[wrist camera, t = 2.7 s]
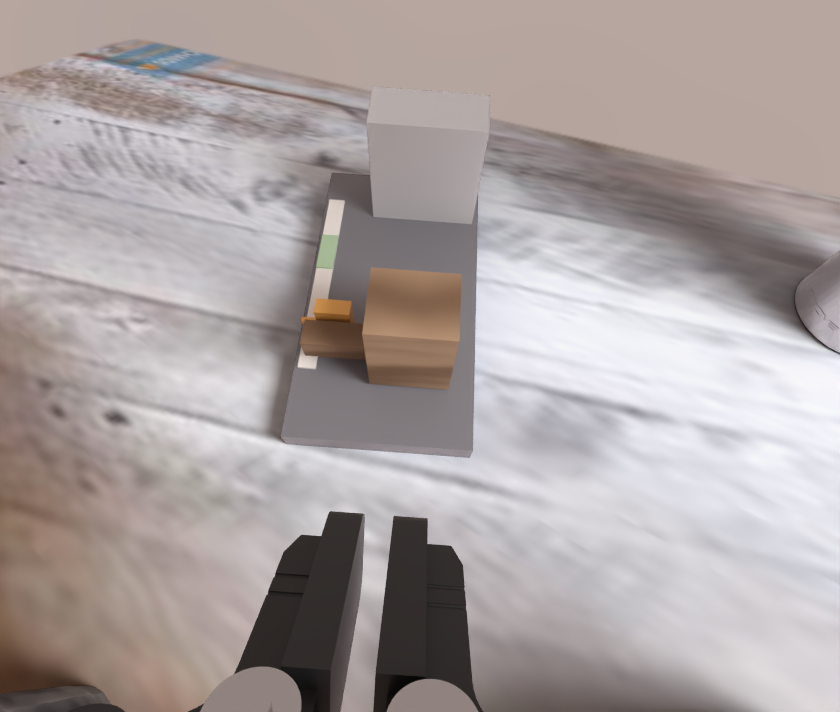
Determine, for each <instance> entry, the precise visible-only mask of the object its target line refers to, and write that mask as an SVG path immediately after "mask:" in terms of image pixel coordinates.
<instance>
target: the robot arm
mask: <svg viewBox="0 0 840 712" xmlns="http://www.w3.org/2000/svg"><path fill="white" fill-rule="evenodd" d="M795 304H796V308H797V312H798V314H799V316H800V318H801V320H802V322H803V323H804V325H805V326H806V327H807V329H808V330H809V331H810V332H811V333H812V334H813V335H814V336H815V337H816V338H817V339H818V340H820V341H821V342H822V343H824V344H825V345H826V346H828V347H830V348H831V349H833V350H835V351H837V352H839V353H840V251H838V252H837V253H836V254H834V255H833V256H832V257H831V258H829V259H828V260H827V261H826V262H824V263H823V264H822V265H821V266H819V267H818V268H817V269H815V270H814V271H813V272H812V273H810V274H809V275H808V276H807V277H805V278H804V279H803V280H802V281H801V282H800V284H799V285H798V286H797V290H796V293H795ZM364 522H365V517H364V514H359V513H345V512H332V511H330V512H329V514H328V517H327V520H326V523H325V527H324V530H323V533H322V536H310V535H301V536H300V537H298V538H297V539H296V540H295V541H294V542H293V543H292V544H291V545H290V546H289V547H288V548H287V549H286V550H285V551H284V553H283V555H282V558H281V560H280V563H279V565H278V568H277V570H276V573H275V577H274V578H273V580H272V583H271V585H270V588H269V590H268V595H266V598H265V600H264V603H263V605H262V608H261V610H260V613H259V615H258V618H257V620H256V623H255V625H254V628H253V630H252V632H251V635H250V637H249V640H248V642H247V645H246V647H245V650H244V652H243V655H242V657H241V660H240V662H239V665H238V667H237V669H236V671H235V673H234V675H232V676H230V677H229V678H227V679H226V680H224V681H223V682H222V683H221V684H219V685H218V686H217V687H216V688H215V689H214V690H213V691H212V693H211V694H210V695H209V697H208V698H207V700H206V701H205V703H204V704H202V705H201V706H199V707H197V708H195V709H193V710H191V711H188V712H340V710H341V704H342V699H343V693H344V687H345V681H346V676H347V670H348V664H349V658H350V653H351V647H352V641H353V635H354V630H355V624H356V618H357V612H358V607H359V600H360V593H361V584H362V570H363V546H364ZM427 526H428V521H427V518H414V517H400V516H394V518H393V527H392V536H391V544H390V553H389V562H388V570H387V579H386V588H385V597H384V605H383V614H382V623H381V632H380V640H379V649H378V658H377V666H376V677H375V695H374V712H483V711H482V709H481V708H480V706H479V704H478V702H477V699H476V697H475V693H474V690H473V684H472V673H471V661H470V649H469V636H468V624H467V612H466V599H465V591H464V575H463V565H462V563H461V561H460V560H459V558H458V556H457V555H456V553H455V551H454V550H453V548H452V547H451V546H446V545H432V544H427ZM68 712H125V711H124V710H122V709H121V708H119V707H117V706H114V705H111V704H103V703H98V704H89V705H85V706H81V707H78V708H75V709H72V710H70V711H68Z"/></svg>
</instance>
